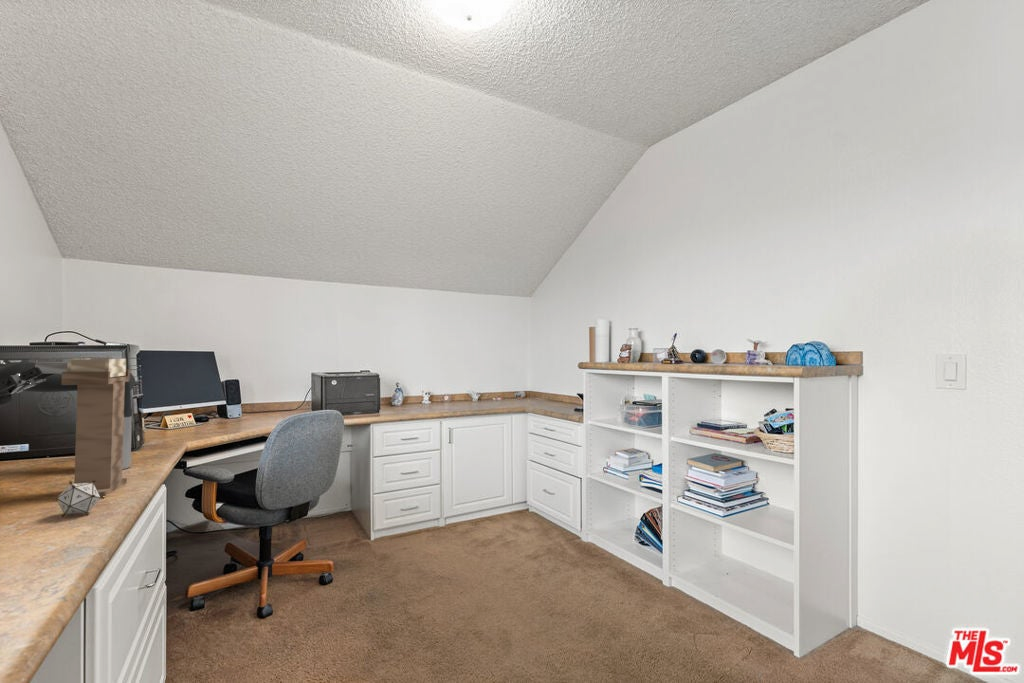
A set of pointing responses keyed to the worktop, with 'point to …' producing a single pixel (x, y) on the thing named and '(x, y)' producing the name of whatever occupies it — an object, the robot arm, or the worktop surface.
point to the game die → (78, 498)
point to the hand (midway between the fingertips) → (48, 369)
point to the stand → (99, 428)
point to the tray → (85, 366)
